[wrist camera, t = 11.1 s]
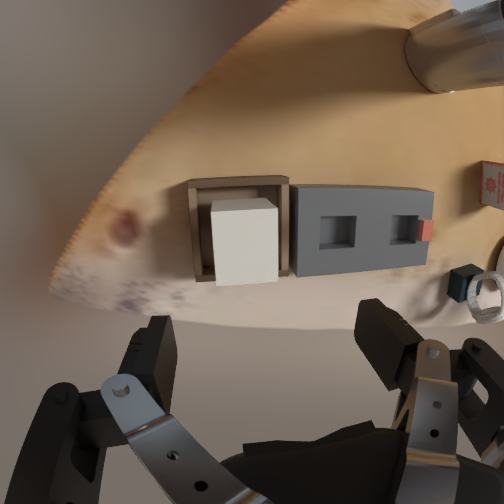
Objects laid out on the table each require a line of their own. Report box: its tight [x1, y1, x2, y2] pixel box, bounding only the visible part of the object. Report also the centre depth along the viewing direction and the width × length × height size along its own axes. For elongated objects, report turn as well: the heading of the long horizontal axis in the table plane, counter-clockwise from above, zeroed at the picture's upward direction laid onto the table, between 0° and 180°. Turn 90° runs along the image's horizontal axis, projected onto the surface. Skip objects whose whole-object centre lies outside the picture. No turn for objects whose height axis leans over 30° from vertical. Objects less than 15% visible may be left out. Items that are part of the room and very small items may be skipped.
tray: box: [188, 175, 289, 282], centre depth 29 cm, size 10×9×3 cm
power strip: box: [289, 184, 434, 277], centre depth 30 cm, size 9×17×4 cm, turn 92°
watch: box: [447, 264, 504, 324], centre depth 31 cm, size 6×8×11 cm
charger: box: [211, 198, 278, 286], centre depth 26 cm, size 6×5×8 cm
